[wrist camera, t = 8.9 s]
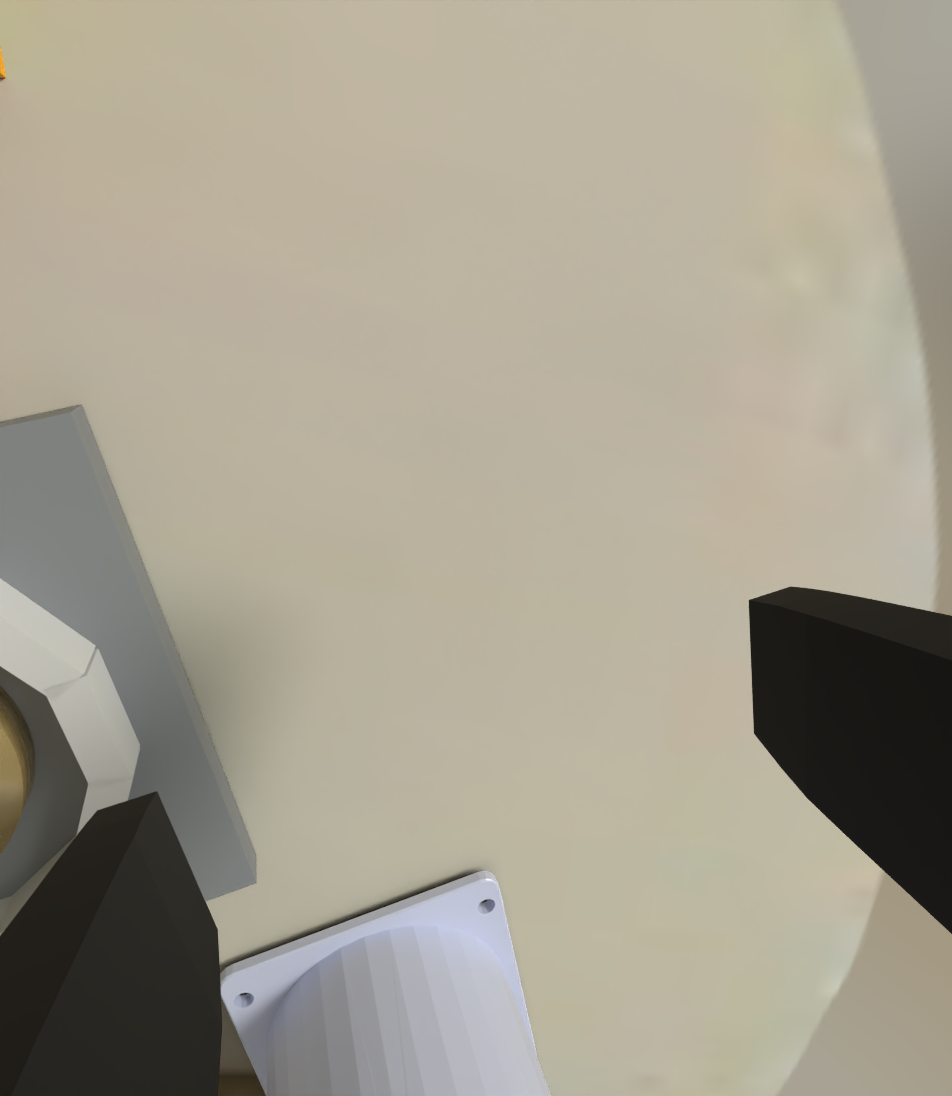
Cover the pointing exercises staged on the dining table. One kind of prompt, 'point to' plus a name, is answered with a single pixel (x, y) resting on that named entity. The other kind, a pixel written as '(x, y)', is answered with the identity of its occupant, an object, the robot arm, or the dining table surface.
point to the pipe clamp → (2, 67)
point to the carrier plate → (96, 668)
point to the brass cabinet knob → (14, 766)
